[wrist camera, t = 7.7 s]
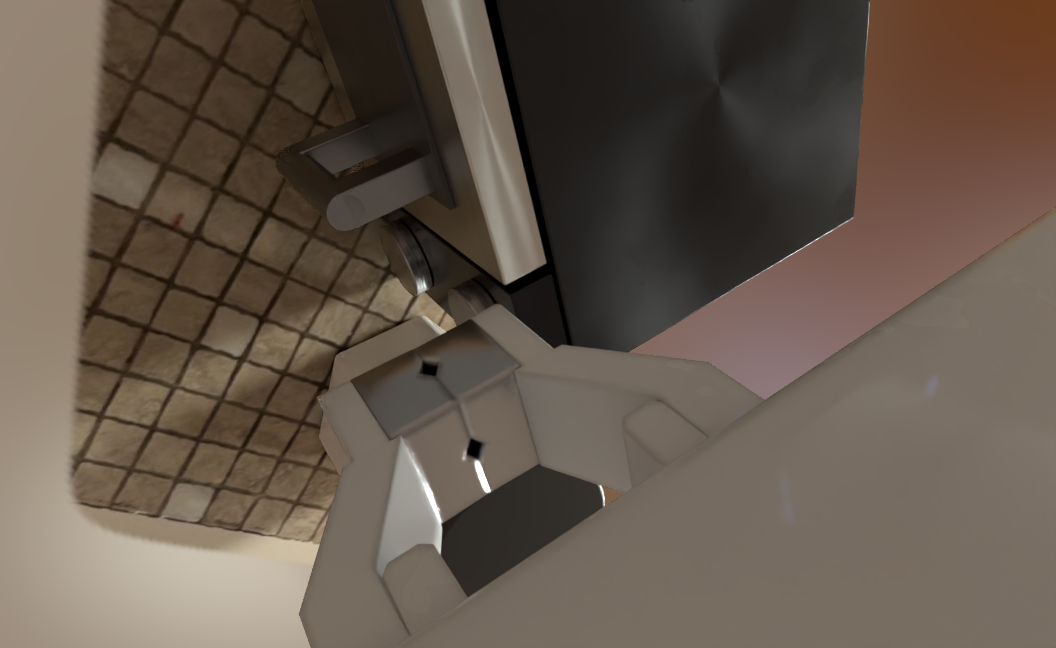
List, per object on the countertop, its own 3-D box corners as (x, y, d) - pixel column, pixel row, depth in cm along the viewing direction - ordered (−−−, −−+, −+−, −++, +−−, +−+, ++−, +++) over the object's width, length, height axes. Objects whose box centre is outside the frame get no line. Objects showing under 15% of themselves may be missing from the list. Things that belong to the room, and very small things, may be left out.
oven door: (290, 218, 29) (398, 343, 20) (145, -88, 22) (211, -100, 13) (402, 168, 30) (548, 263, 22) (298, -130, 24) (446, -166, 15)
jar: (450, 462, 39) (570, 618, 30) (306, 474, 35) (398, 664, 26) (491, 316, 36) (637, 442, 28) (340, 308, 32) (457, 457, 23)
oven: (390, 282, 33) (523, 415, 24) (236, -114, 23) (358, -141, 14) (662, 150, 38) (854, 218, 29) (625, -216, 28) (892, -284, 20)
